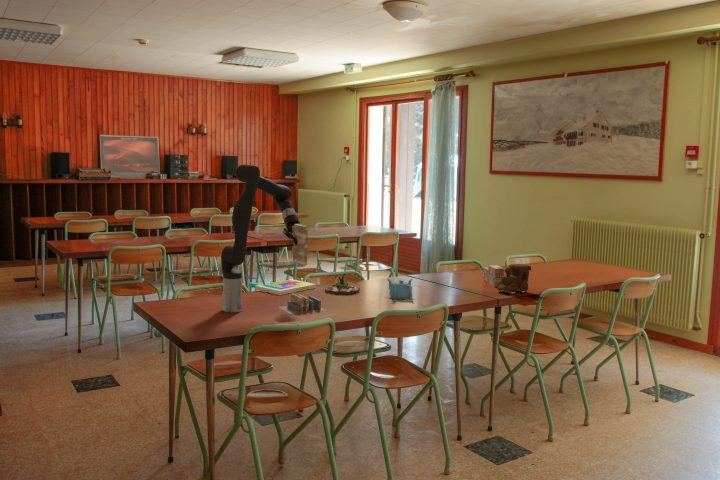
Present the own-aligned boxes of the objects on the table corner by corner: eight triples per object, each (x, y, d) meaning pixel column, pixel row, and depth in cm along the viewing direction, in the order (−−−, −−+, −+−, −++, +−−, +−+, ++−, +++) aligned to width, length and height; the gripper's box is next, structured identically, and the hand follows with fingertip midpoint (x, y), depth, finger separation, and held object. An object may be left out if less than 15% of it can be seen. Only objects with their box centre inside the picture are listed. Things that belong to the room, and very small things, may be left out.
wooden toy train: (516, 289, 412) (518, 263, 410) (531, 292, 403) (532, 265, 400) (494, 292, 400) (496, 265, 398) (508, 295, 391) (510, 268, 389)
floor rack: (290, 316, 325) (290, 304, 324) (277, 309, 338) (278, 297, 338) (326, 313, 334) (326, 300, 333) (312, 306, 348) (313, 294, 347)
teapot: (414, 300, 369) (415, 283, 368) (388, 300, 369) (388, 282, 368) (411, 295, 384) (412, 278, 383) (386, 294, 383) (386, 277, 382)
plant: (352, 296, 377) (352, 277, 375) (320, 293, 383) (321, 274, 382) (363, 290, 395) (364, 272, 394) (333, 287, 402) (334, 269, 400)
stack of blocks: (482, 280, 437) (483, 262, 435) (491, 280, 438) (492, 262, 436) (493, 287, 416) (495, 268, 414) (503, 287, 417) (504, 268, 415)
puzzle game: (315, 288, 397) (281, 281, 415) (315, 284, 396) (281, 277, 415) (279, 296, 374) (245, 288, 392) (279, 291, 373) (245, 283, 392)
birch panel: (302, 265, 335) (303, 226, 332) (293, 261, 345) (294, 224, 343) (307, 265, 336) (307, 226, 334) (297, 261, 347) (298, 223, 344)
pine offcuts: (300, 311, 329) (300, 298, 328) (290, 306, 340) (291, 293, 339) (308, 310, 332) (309, 297, 331) (299, 305, 342) (299, 292, 341)
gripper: (280, 214, 344) (289, 240, 335) (304, 213, 350) (313, 239, 341) (276, 223, 349) (285, 249, 340) (300, 222, 356) (309, 247, 347)
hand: (299, 244), depth 341 cm, fingers closed on birch panel, 2 cm apart
